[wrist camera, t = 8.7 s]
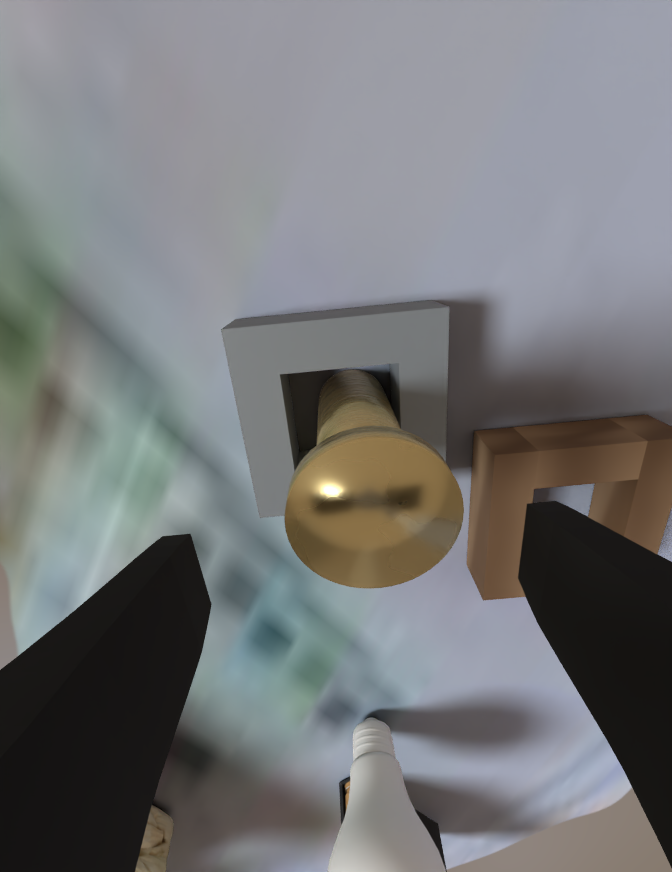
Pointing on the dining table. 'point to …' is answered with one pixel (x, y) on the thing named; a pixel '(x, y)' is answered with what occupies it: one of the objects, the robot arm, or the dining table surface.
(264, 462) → the socket block
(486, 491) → the brown wooden square frame
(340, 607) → the dining table surface
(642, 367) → the dining table surface
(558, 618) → the robot arm
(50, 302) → the dining table surface
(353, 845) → the lightbulb
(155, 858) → the storage basket
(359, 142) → the dining table surface
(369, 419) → the pin
